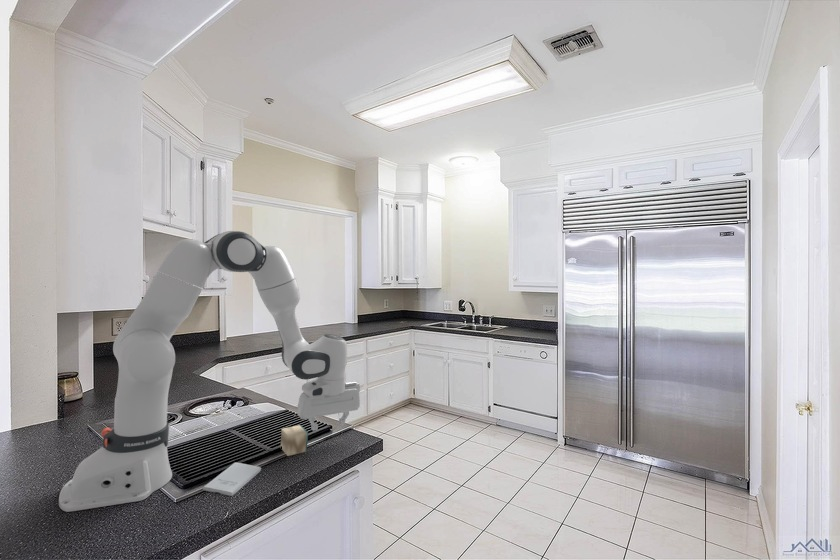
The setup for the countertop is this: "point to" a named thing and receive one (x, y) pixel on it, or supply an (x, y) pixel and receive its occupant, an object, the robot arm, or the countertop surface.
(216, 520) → the countertop surface
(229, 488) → the external hard drive
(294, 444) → the maple cube
